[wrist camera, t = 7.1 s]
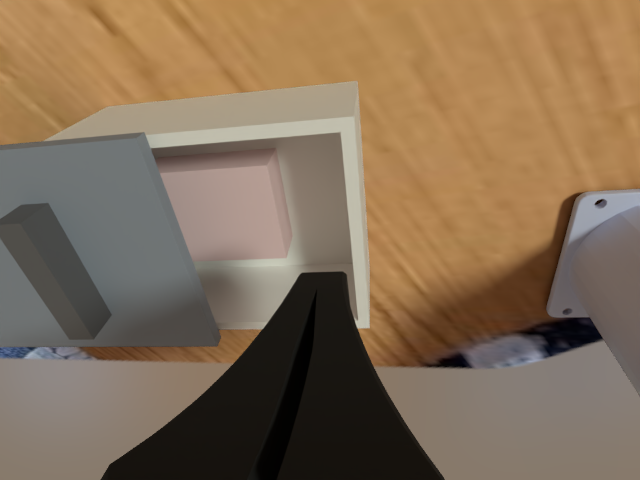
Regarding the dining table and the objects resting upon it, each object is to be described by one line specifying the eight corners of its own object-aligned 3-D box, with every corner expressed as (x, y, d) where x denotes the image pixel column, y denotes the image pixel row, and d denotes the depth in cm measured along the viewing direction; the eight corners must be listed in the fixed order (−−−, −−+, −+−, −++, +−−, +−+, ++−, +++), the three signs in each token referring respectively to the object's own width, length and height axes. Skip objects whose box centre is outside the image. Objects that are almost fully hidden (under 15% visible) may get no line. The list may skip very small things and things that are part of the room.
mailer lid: (144, 132, 14) (112, 155, 12) (221, 336, 20) (206, 372, 18) (-144, 158, 16) (-206, 181, 14) (3, 338, 22) (-29, 370, 20)
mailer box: (357, 80, 17) (354, 116, 13) (369, 263, 23) (369, 328, 19) (107, 106, 19) (35, 144, 15) (174, 269, 25) (135, 330, 20)
